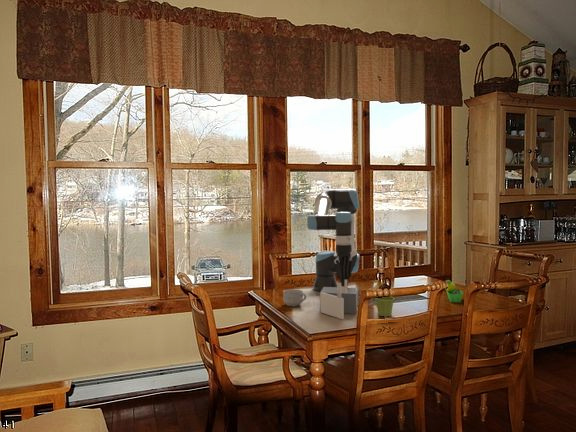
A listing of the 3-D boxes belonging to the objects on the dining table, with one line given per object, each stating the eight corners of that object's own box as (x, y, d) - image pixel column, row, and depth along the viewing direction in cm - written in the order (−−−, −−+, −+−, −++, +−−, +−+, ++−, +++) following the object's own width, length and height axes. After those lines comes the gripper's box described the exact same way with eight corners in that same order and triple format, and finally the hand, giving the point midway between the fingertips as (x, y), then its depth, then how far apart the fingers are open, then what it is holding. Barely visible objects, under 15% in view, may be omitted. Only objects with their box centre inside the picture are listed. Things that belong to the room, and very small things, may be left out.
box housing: (323, 305, 248) (323, 286, 247) (357, 306, 244) (357, 287, 244) (320, 312, 234) (320, 292, 233) (356, 313, 230) (356, 293, 230)
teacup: (279, 305, 250) (278, 290, 249) (294, 301, 257) (294, 287, 256) (296, 310, 239) (295, 294, 239) (311, 306, 246) (311, 291, 246)
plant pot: (373, 313, 231) (373, 296, 230) (391, 312, 232) (391, 295, 231) (378, 318, 222) (377, 300, 221) (397, 317, 222) (397, 300, 222)
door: (321, 311, 234) (321, 278, 233) (344, 318, 220) (344, 283, 219) (318, 312, 233) (318, 278, 232) (341, 319, 219) (341, 283, 218)
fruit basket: (463, 303, 249) (463, 282, 248) (446, 302, 251) (446, 281, 250) (460, 298, 260) (460, 278, 259) (443, 297, 262) (443, 277, 261)
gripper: (340, 246, 215) (340, 296, 216) (358, 243, 223) (359, 291, 225) (328, 244, 221) (329, 293, 222) (346, 242, 229) (347, 289, 230)
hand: (344, 292), depth 223 cm, fingers closed
